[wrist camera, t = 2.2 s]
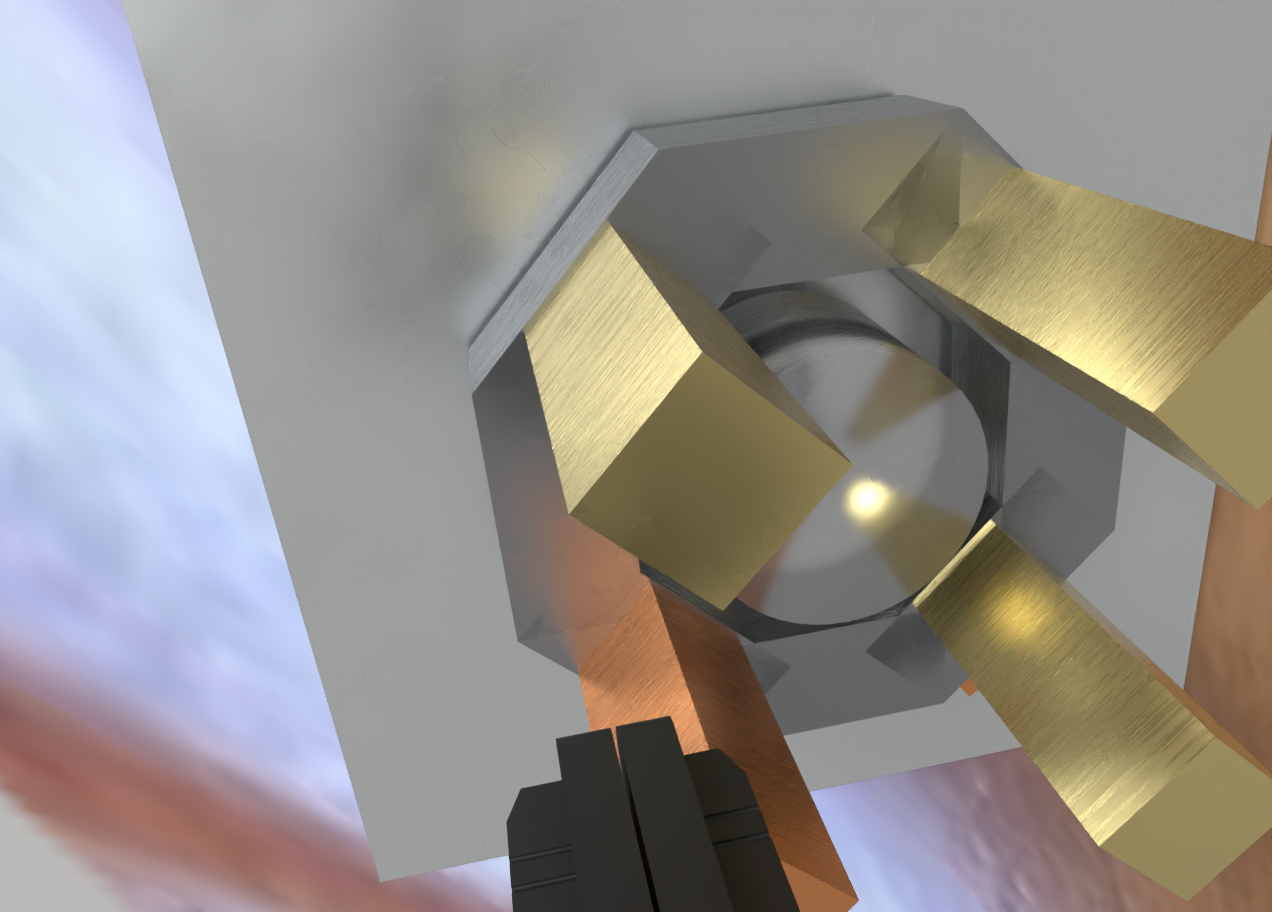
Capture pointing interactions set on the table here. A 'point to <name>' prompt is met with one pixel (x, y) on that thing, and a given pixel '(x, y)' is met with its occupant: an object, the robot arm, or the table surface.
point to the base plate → (765, 317)
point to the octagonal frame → (812, 464)
